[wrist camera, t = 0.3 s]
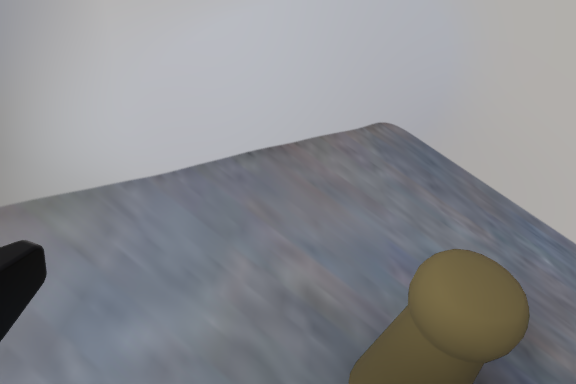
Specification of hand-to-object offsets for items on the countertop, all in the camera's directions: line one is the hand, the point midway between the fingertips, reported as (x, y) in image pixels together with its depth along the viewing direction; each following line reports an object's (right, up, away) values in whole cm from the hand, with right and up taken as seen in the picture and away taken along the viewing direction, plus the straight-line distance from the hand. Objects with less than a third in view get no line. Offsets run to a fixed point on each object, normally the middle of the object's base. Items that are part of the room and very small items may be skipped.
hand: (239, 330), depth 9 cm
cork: (+7, -9, +17) cm, 21 cm away
